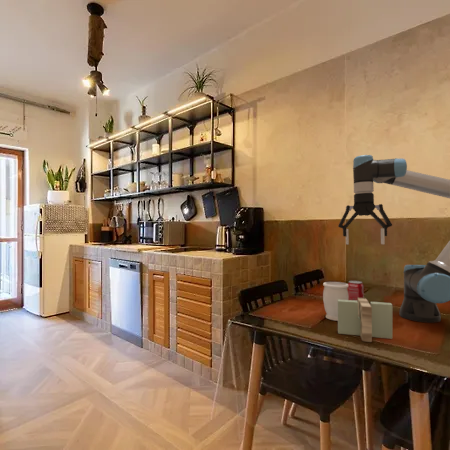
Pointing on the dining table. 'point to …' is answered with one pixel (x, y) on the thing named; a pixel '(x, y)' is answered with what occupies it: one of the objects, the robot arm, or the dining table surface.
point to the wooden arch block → (365, 319)
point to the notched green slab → (352, 322)
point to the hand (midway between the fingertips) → (364, 244)
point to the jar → (334, 298)
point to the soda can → (355, 290)
